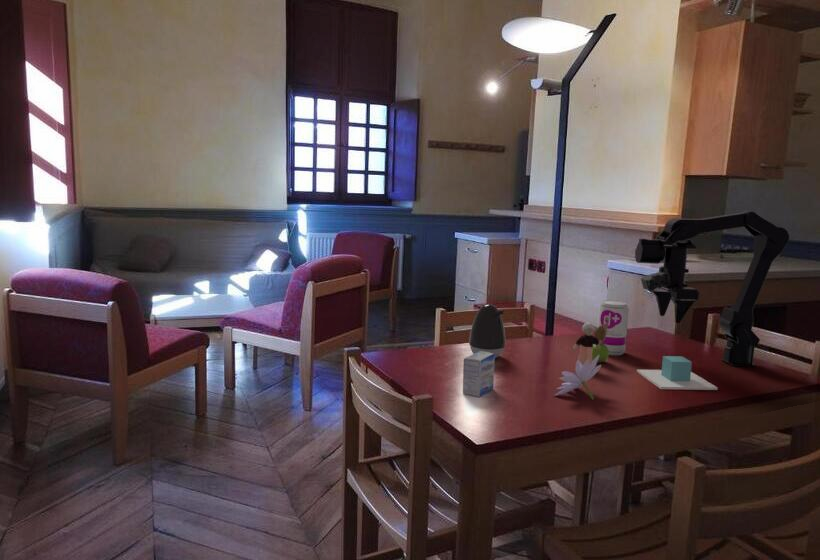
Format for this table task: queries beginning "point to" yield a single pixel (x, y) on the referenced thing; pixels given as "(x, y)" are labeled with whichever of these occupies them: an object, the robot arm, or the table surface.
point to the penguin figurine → (488, 331)
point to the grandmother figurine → (586, 343)
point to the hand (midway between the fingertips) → (669, 319)
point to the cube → (676, 368)
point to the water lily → (579, 377)
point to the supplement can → (614, 325)
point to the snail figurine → (600, 335)
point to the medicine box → (478, 373)
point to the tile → (664, 383)
